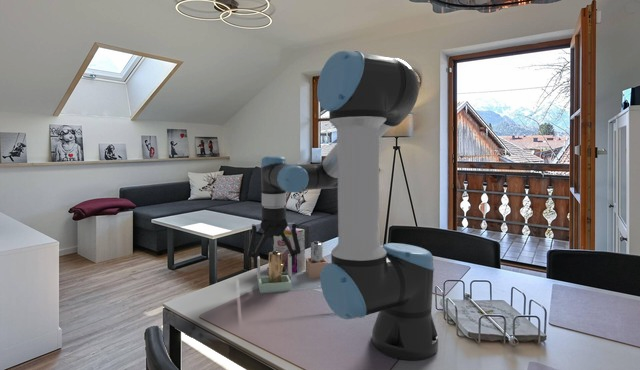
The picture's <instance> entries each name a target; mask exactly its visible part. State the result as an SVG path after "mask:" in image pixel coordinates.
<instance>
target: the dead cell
mask: <svg viewBox="0 0 640 370" xmlns="http://www.w3.org/2000/svg"><path fill="white" fill-rule="evenodd" d="M322 257H323V242H321V241H318V240H315V241H313V242H310V258H311V263H322Z"/></svg>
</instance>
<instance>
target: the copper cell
mask: <svg viewBox="0 0 640 370" xmlns="http://www.w3.org/2000/svg"><path fill="white" fill-rule="evenodd" d="M268 267H269V283H278V282H281V267H282V253H281V252H278V251H274V250H272V251H270V252H268Z"/></svg>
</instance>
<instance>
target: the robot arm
mask: <svg viewBox="0 0 640 370" xmlns="http://www.w3.org/2000/svg"><path fill="white" fill-rule="evenodd" d="M419 85H420V84H419V80H418V76H417V74H416V72H415V70H414V69H413V68H412V67H411V66H410V64H408V63H407V62H406V61H404V60H402V59H400V58H398V57H397V58H396V57H387V56H383V55H376V54H370V53H365V52H361V51H359V50H355V51H354V50H353V51H349V50H341V51H337V52H335V53H333V54H332V55H331V56H330V57H329V58H328V59H327V60H326V62H325V64H324V65H323V67H322V69H321V71H320V74H319V77H318V82H317V91H316V93H317V101H318V102H319V105H320V107H321V108H322V109H323V110H325V111H327V112H329V114H328V115H329V116H328V117H329V119H328V121H329V123H331V125H332V126H333V127H334V129H336V144H335V145H334V146H333V147H332V149H331V150H330V151H329V152H328V154H326V156H325V157H324V159H322V161H321V162H320V163H310V164H309V163H307V164H304V163H301V164H298V163H297V164H287V160H286V158H285V156H280V155H279V156H275V155H273V156H268V155H267V156H263V157H262V158H261V164H260V165H261V167H260V170H261V171H260V173H261V175H260V177H261V179H260V180H261V181H260V183H261V206H262V207H261V222H260V223H259V224H255V223H253V224H251V231H252V232H251V237H250V240H249V244H248V249H247V252H246V253H247V256H248V258H252V259H253V260H252V261H253V264H252V265H253V268H254V269H256V279H257V278H258V279H260V275H261V257H260V253H261V252H262V250H263V248H264V245H265V244H266V241H267V240H268V238H269V237H272V238H273V236H280V235H281V237H282V239H283V240H284V242H285V244H286V246H287V248H288V250H289V251H290V254H288V275H289V277H292V266H293V265H295V256H296V254H300V253H301V250H300V246H299V242H298V238H297V234H296V228H297V224H296V223H295V222H294V221H293V222H287V208H286V205H287V193H294V194H295V193H300V192H301V193H302V191H309V190H311V191H312V190H325V189H331V190H332V189H335V188H337V230H338V231H337V232H338V234H337V235H338V237H337V239H338V241H337V242H338V243H337V244H336V246H335V247H333V249H332V250H331V254H330V257H331V259H330V260H331V262H328V264H327V265H326V266H324V267H323V270H322V271H321V276H320V281H321V288H320V289H321V291H322V295H323V297H324V299H325V301H326V303H327V305H328V307H329V308H330V310H331V311H332V312H333V313H334V314H335V315H336V316H337V317H339V318H341V319H343V320H352V319H357V318H359V319H361V318H365V317H366V316H370V315H372V314H376V313H378V314H377V317H376V319H375V322H374V324H373V327H372V331H371V335H372V337H371V339H372V340H371V341H372V344H373V346H374V347H375V348H376V349H377V350H379V352H381V353H383V354H385V355H387V356H390V357H392V358H394V359H399V360H406V361H419V360H418V359H420V360H425V359H428V358H430V357H433V356H434V355H435V354H436V353H437V351H438V348H439V336H438V331H437V328H436V324H435V322H434V317H433V314H432V308H433V307H432V306H433V291H434V290H433V288H434V272H435V268H434V257H433V254H432V252H430V251H429V250H427V249H425V248H423V247H421V246H417V245H412V244H406V243H397V242H396V243H395V242H389V243H384V244H383V245H381V244H380V139H381V138H382V137H383V136H384V135H385V133H387V131H389V129H390V128H395V127H398V126H399V125H400V124H401V123H402V122H403V121H404V120H405V119H406V118H407V117H408V116H409V114H410V113H411V112H412V110H413V109H414V107H415V105H416V103H417V101H418V96H419V89H420V88H419V87H420V86H419ZM287 226H288V227H289V229H290V230H291V233H292V237H293V241H294V245H295V250H293V249H292V247H291V245H290V243H289V241H288V240H287V238H286V236H285V234H284V230H285V229H286V228H287ZM260 229H261V230H262V231H263V233H262V236H261V238H260V240H259V242H258V244H257V246H256V248H255V243H256V239H257V234H258V233H257V232H259V231H260ZM254 248H255V250H254Z"/></svg>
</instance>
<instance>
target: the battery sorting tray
mask: <svg viewBox="0 0 640 370" xmlns="http://www.w3.org/2000/svg"><path fill="white" fill-rule="evenodd" d="M327 264H329V262H328V261H327V260H326V258H325V257H324V256H322V263H311V257H306V258H305V270H304V271H301V272H298V273H295V272H292V277H289V275H288V266H283V272H281V282H278V283H269V266H268V267H266V274H260V279H258V278H257V277H256V280H257V285H258V288H259V293H260V295H261V294H271V293H280V292H291V291H294V292H295V291H305V290H314V289H315V290H316V289H322V288H321V281H320V276H321V271H322V270H323V267H324V266H326V265H327Z"/></svg>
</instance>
